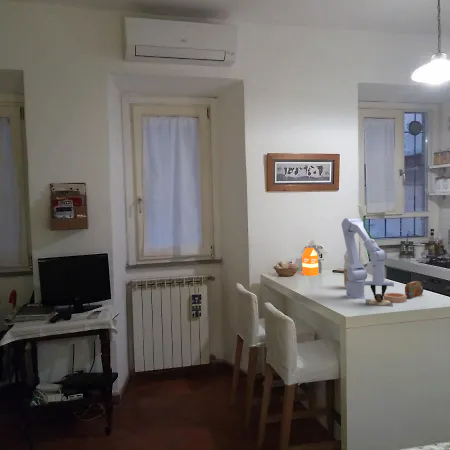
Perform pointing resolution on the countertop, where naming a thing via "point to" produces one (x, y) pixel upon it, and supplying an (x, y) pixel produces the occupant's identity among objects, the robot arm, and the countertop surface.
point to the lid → (378, 301)
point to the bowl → (395, 297)
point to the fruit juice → (346, 268)
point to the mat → (378, 305)
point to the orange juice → (310, 262)
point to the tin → (414, 289)
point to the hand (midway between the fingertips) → (378, 299)
